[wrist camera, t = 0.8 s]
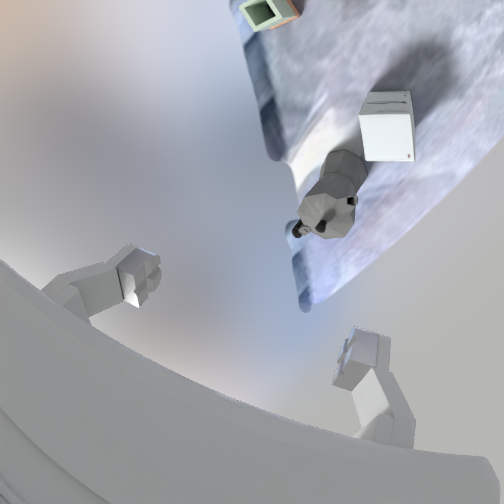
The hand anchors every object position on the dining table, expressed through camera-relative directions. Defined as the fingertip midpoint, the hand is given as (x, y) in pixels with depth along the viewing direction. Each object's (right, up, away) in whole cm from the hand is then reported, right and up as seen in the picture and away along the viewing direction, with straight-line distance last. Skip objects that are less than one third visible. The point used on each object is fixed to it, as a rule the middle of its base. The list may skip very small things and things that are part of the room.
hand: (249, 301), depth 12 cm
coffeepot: (+17, +17, +45) cm, 51 cm away
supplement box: (+23, +26, +31) cm, 46 cm away
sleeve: (+5, +41, +26) cm, 49 cm away
